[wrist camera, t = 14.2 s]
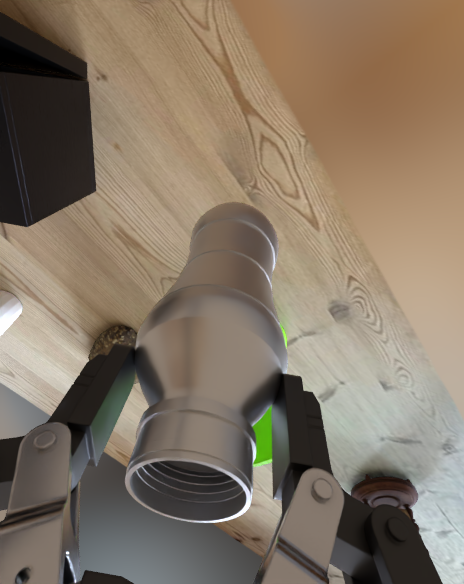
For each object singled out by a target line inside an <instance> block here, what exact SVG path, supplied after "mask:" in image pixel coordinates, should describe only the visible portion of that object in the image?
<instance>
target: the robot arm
mask: <svg viewBox="0 0 464 584" xmlns="http://www.w3.org/2000/svg"><path fill="white" fill-rule="evenodd" d="M134 360H135V347H134V346H129V345H123V344H118V343H115V344H114V345H113V347H112V348H111V350H110V352H109V353H108V355H102V354H98V355H97V356H95V357H94V358H93V359H91V360H90V361H89V362H87V364H86V365H85V367H84V368H83V370H82V371H81V373H80V375H79V376H78V377H77V379H76V380H75V382H74V384H73V385H72V386H71V388H70V389H69V391H68V392H67V394H66V395H65V397H64V398H63V400H62V401H61V403H60V404H59V406H58V407H57V409H56V410H55V411H54V413H53V414H52V416H51V417H50V419H49V420H48V421H47V422H46V423H45V424H42V425H40V426H37V427H36V428H34V429H33V430H31V431H30V432H29V433H28V434H27V435H25V436H22V437H17V438H9V439H1V440H0V511H1V510H6V509H7V513H6V517H5V519H4V520H3V521H1V522H0V584H134V583H132V582H130V581H129V580H127V579H125V578H123V577H121V576H116V575H110V574H104V573H98V572H93V571H87V570H85V572H84V575H83V577H82V580H81V581H80V555H79V512H80V511H79V509H80V478H81V476H82V474H83V472H84V469H85V467H86V465H89V466H95V467H96V466H97V464H98V461H99V459H100V457H101V455H102V453H103V451H104V448H105V446H106V444H107V442H108V440H109V438H110V435H111V433H112V431H113V429H114V427H115V424H116V422H117V420H118V418H119V416H120V413H121V411H122V409H123V407H124V405H125V402H126V400H127V398H128V396H129V394H130V392H131V389H132V387H133V384H134V381H135V375H136V369H135V363H134ZM271 424H272V472H273V499H278V500H282V514H281V516H280V518H279V521H278V523H277V526H276V528H275V531H274V533H273V536H272V538H271V541H270V543H269V546H268V548H267V550H266V553H265V555H264V558H263V560H262V563H261V565H260V568H259V570H258V573H257V575H256V578H255V580H254V582H253V584H329V578H328V577H327V572H328V567H329V563H330V564H332V565H333V566H335V567H337V568H338V569H340V570H341V571H342V573H343V576H344V580H345V584H443V583H442V581H441V579H440V577H439V575H438V573H437V571H436V568H435V566H434V564H433V562H432V560H431V558H430V556H429V554H428V551H427V549H426V547H425V545H424V543H423V541H422V539H421V536H420V534H419V532H418V530H417V528H416V526H415V525H414V523H413V522H412V521H411V519H410V518H409V517H408V516H407V515H406V514H405V513H404V512H402V511H401V510H400V509H398V508H397V507H394V506H392V505H389V504H381V505H378V506H377V507H376V508H375V509H374V508H372V507H371V506H369V505H367V504H365V503H363V502H361V501H359V500H357V499H355V498H354V497H352V496H350V495H349V494H348V493H346V492H345V491H344V490H343V489H342V488H341V486H340V484H339V483H338V481H337V480H336V479H335V477H334V476H333V473H332V470H331V465H330V459H329V454H328V448H327V442H326V437H325V431H324V429H323V428H324V426H323V420H322V415H321V409H320V404H319V402H318V401H317V399H316V397H315V396H314V394H313V392H307V391H303V384H302V378H301V377H300V376H295V375H289V374H283V373H282V378H281V383H280V387H279V390H278V394H277V396H276V399H275V401H274V403H273V404H272V409H271Z"/></svg>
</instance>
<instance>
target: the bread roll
mask: <svg viewBox="0 0 464 584" xmlns="http://www.w3.org/2000/svg"><path fill="white" fill-rule="evenodd" d="M136 340H137V334H136V333H135V332H134V330H133V329H131V328H128V327H124V326H116V327H113V328H111V329H108V330H107V331H105V332H103V333H101V334H100V336H99V337H98V338H97V340H96V341H95V344H94V345H93V347H92V350H91V351H90V352H91V353H90V354H89V357H88V358H89V361H90V360H91V359H93V358H94V357H95V356H97V355H98V354H102V355H108V353H109V352H110V350H111V348H112V347H113V345H114V344H115V343H118V344H123V345H129V346H134V347H135V349H136ZM136 383H139V380H138V377H137V374H136V375H135V381H134V384H136Z"/></svg>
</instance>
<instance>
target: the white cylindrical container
mask: <svg viewBox="0 0 464 584" xmlns="http://www.w3.org/2000/svg"><path fill="white" fill-rule="evenodd" d="M22 311H23V309H22V304H21V302H20V301H19V300H18V298H17V297H16V296H14V295H13V294H11V293H9V292H6V291H3V290H0V336H1V335H2V334H3V332H4V331H5V330H6V329H7V328H8V327H9V326H10V325H11V324H12V323H13V322H14V321H15V320H16V318H17V317H18V316H19V315H20V314H21V312H22Z"/></svg>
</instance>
